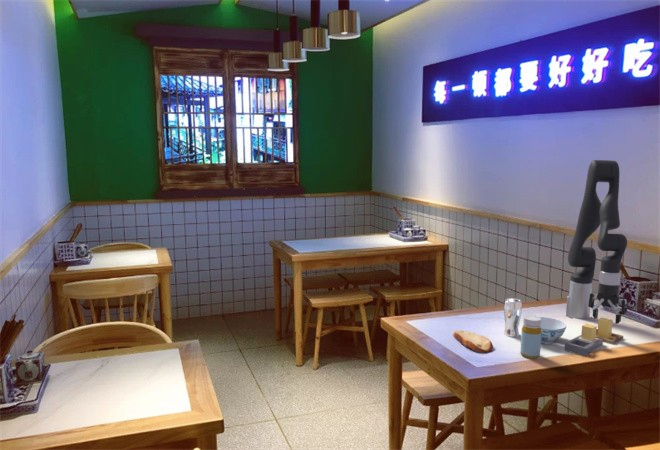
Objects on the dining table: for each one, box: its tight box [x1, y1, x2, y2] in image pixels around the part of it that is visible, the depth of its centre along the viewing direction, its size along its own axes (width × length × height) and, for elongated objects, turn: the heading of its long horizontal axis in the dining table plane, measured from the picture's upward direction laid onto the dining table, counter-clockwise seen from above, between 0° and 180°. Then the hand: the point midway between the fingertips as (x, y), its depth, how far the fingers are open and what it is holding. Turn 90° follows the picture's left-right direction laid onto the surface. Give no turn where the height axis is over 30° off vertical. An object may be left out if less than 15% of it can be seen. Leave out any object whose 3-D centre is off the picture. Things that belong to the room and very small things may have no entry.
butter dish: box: [564, 323, 604, 357], centre depth 212 cm, size 8×15×8 cm, turn 130°
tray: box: [596, 328, 624, 345], centre depth 222 cm, size 11×10×2 cm
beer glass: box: [503, 297, 523, 338], centre depth 227 cm, size 7×7×15 cm
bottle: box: [519, 314, 542, 360], centre depth 204 cm, size 7×7×15 cm
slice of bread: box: [452, 329, 494, 354], centre depth 218 cm, size 18×18×4 cm
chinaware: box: [539, 316, 567, 345], centre depth 220 cm, size 15×15×8 cm
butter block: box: [597, 316, 614, 339], centre depth 221 cm, size 4×4×8 cm
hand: (606, 320), depth 221 cm, fingers open, 8 cm apart
